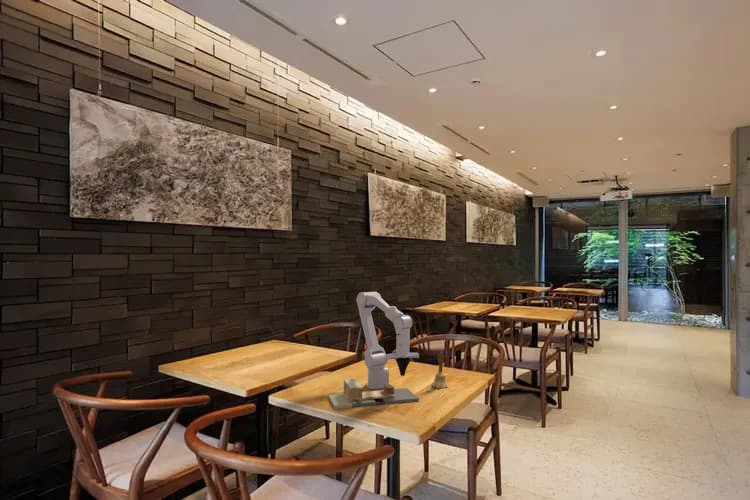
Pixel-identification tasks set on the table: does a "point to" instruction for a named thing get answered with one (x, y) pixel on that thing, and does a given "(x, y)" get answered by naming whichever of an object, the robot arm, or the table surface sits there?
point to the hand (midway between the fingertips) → (402, 375)
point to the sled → (377, 393)
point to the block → (355, 392)
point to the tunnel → (353, 385)
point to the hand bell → (440, 375)
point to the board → (400, 397)
